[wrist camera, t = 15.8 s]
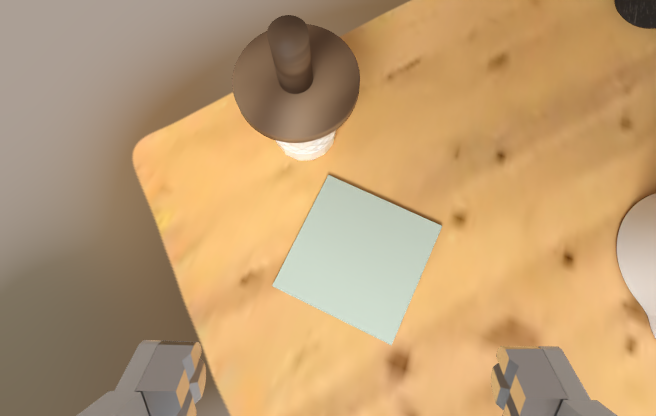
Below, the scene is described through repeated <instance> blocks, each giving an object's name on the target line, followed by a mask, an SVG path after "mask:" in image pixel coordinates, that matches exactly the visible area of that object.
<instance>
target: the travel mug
mask: <svg viewBox="0 0 656 416" xmlns="http://www.w3.org/2000/svg"><path fill="white" fill-rule="evenodd" d="M615 6H616V9H617V10H618V12H619V14H620V15H621V16H622V17H623V18H624V19H625V20H626V21H628V22H629V23H631V24H633V25H635V26H638V27H642V28H656V0H615Z"/></svg>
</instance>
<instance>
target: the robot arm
mask: <svg viewBox="0 0 656 416" xmlns="http://www.w3.org/2000/svg"><path fill="white" fill-rule="evenodd" d="M617 257H618V263H619V267H620V270H621V273H622V276H623V278H624V280H625V282H626V284H627V286H628V288H629V290H630V291H631V293H632V294H633V296H634V297H635V298H636V299H637V301H638V302H639V303H640V305H641V306H642V307H643V309H644V310H645V312H646V314H647V316H648V319H649V322H650V326H651V329H652V332H653V334H654V337H655V339H656V193H655V194H652V195H650V196H648V197H646V198H644V199H642V200H641V201H639V202H638V203H637V204H635V205H634V206H633V207H632V208H631V209H630V211H629V212H628V213H627V215H626V216H625V218H624V220H623V222H622V224H621V226H620V229H619V233H618V238H617ZM201 352H202V350H201V346H200V343H198V342H184V341H153V340H152V341H151V340H144V341H143V342H142V343H140V344H139V346H138V347H137V349H136V351H135V353H134V355H133V357H132V359H131V361H130V363H129V364H128V366H127V368H126V370H125V372H124V374H123V376H122V378H121V380H120V381H119V383H118V385H117V387H116V389H115V391H109V392H107V393H106V394H105V395H103V396H102V397H101V398H99V399H98V400H97V401H95V402H94V403H93V404H91V405H90V406H89V407H87V408H86V409H85V410H84V411H82V412H81V413H79V414H78V415H77V416H196V408H195V403H196V402H197V401H199V399H201V398H202V395H203V391H204V387H205V381H206V368H205V363H204V362H203V361H202V360H201V359H200V355H201ZM496 357H497V360H498V362H499V363H498V364H496V365H495V366H494V367H493V369H492V374H491V387H492V392H493V396H494V399H495V402H496V404H497V405H498V406H499V407H500V408H502V409H503V410H504V412H503V415H502V416H617V415H616V414H614V413H613V412H612V411H610V410H609V409H608V408H606V407H605V406H604V405H602V404H601V403H600V402H598V401H597V400H591V399H590V397H589V396H588V394H587V392H586V390H585V389H584V387H583V385H582V384H581V382H580V380H579V378H578V377H577V375H576V373H575V371H574V370H573V368H572V366H571V364H570V363H569V361H568V359H567V358H566V356H565V354H564V352H563V351H562V349H560V348H559V347H544V346H539V347H537V346H500V348H499V349H498V351H497V354H496Z"/></svg>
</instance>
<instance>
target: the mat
mask: <svg viewBox="0 0 656 416" xmlns="http://www.w3.org/2000/svg"><path fill="white" fill-rule="evenodd" d="M441 228H442V226H441V225H439V224H437V223H435V222H432V221H430V220H428V219H426V218H423V217H421V216H419V215H417V214H415V213H412V212H410V211H408V210H406V209H403V208H401V207H399V206H397V205H394V204H392V203H390V202H388V201H386V200H383V199H381V198H379V197H377V196H374V195H372V194H370V193H368V192H365V191H363V190H361V189H359V188H357V187H354V186H352V185H350V184H348V183H345V182H343V181H341V180H339V179H336V178H334V177H332V176H330V175H328V177H327V179H326V181H325V183H324V185H323V187H322V189H321V191H320V193H319V195H318V197H317V199H316V200H315V202H314V204H313V206H312V208H311V210H310V212H309V214H308V216H307V218H306V220H305V222H304V224H303V226H302V228H301V230H300V232H299V234H298V236H297V238H296V240H295V242H294V244H293V246H292V248H291V250H290V252H289V254H288V256H287V258H286V260H285V262H284V264H283V266H282V268H281V270H280V272H279V273H278V275H277V277H276V279H275V281H274V283H273V285H272V286H273V287H275V288H277V289H279V290H281V291H283V292H285V293H287V294H289V295H291V296H293V297H295V298H297V299H299V300H301V301H303V302H305V303H307V304H309V305H311V306H313V307H315V308H318V309H320V310H322V311H324V312H326V313H328V314H330V315H332V316H334V317H336V318H338V319H340V320H342V321H344V322H346V323H348V324H350V325H352V326H354V327H356V328H358V329H360V330H362V331H364V332H366V333H368V334H370V335H372V336H374V337H376V338H378V339H380V340H382V341H384V342H386V343H388V344H390V345H392V343H393V340H394V338H395V336H396V333H397V331H398V329H399V326H400V324H401V322H402V319H403V317H404V315H405V312H406V310H407V308H408V305H409V303H410V301H411V298H412V296H413V293H414V291H415V289H416V286H417V284H418V282H419V279H420V277H421V275H422V272H423V270H424V268H425V265H426V263H427V261H428V258H429V256H430V254H431V251H432V249H433V247H434V244H435V242H436V239H437V237H438V235H439V232H440V230H441Z"/></svg>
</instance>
